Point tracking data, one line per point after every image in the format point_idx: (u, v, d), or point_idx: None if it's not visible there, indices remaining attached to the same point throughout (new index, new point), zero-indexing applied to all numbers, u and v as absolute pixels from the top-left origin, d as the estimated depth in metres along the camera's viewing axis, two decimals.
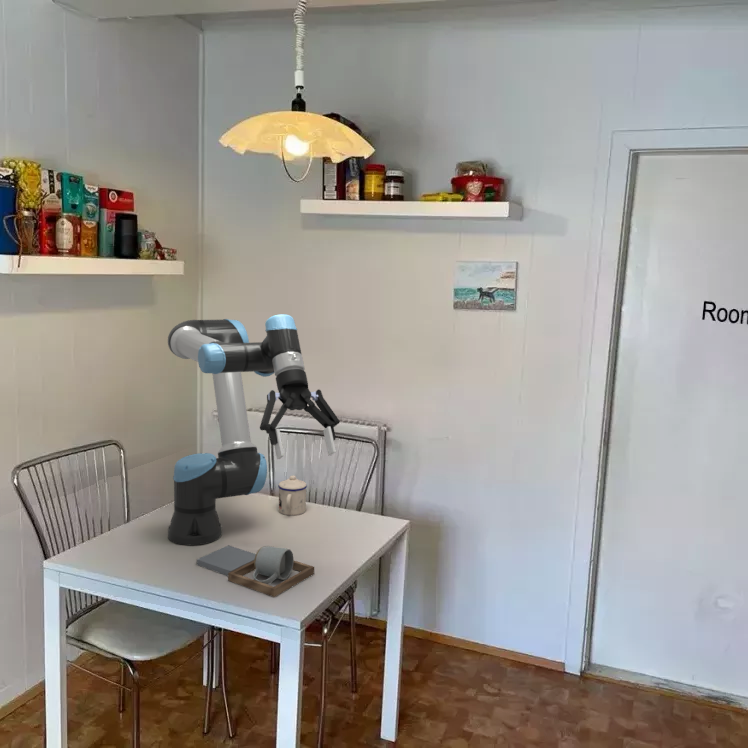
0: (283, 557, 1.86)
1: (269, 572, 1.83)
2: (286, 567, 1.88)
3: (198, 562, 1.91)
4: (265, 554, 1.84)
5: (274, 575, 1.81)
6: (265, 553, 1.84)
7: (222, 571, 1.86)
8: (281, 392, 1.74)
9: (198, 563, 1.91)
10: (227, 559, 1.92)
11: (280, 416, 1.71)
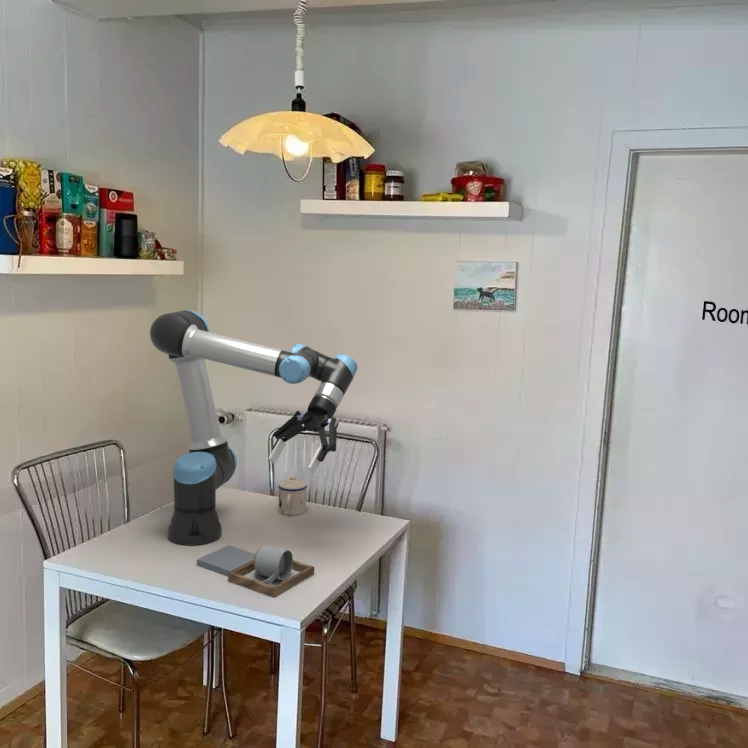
0: (282, 558, 1.85)
1: (268, 573, 1.82)
2: (285, 568, 1.88)
3: (198, 562, 1.91)
4: (264, 554, 1.84)
5: (273, 576, 1.81)
6: (264, 553, 1.84)
7: (222, 571, 1.86)
8: None
9: (198, 563, 1.91)
10: (227, 559, 1.92)
11: None
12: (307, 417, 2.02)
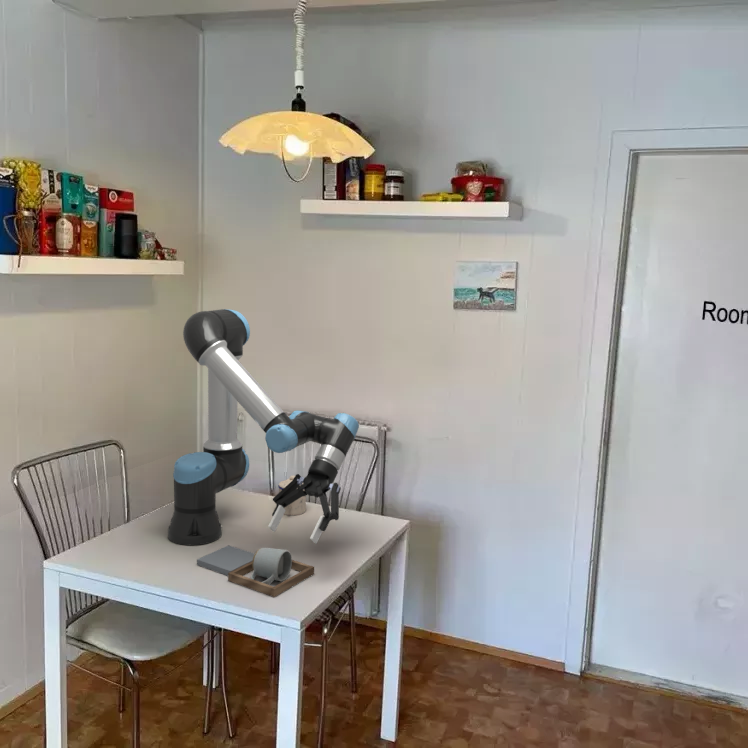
0: (281, 558, 1.85)
1: (267, 574, 1.82)
2: (284, 569, 1.87)
3: (198, 562, 1.91)
4: (263, 555, 1.83)
5: (272, 577, 1.81)
6: (263, 554, 1.83)
7: (222, 571, 1.86)
8: None
9: (198, 563, 1.91)
10: (227, 559, 1.92)
11: None
12: (308, 482, 1.94)
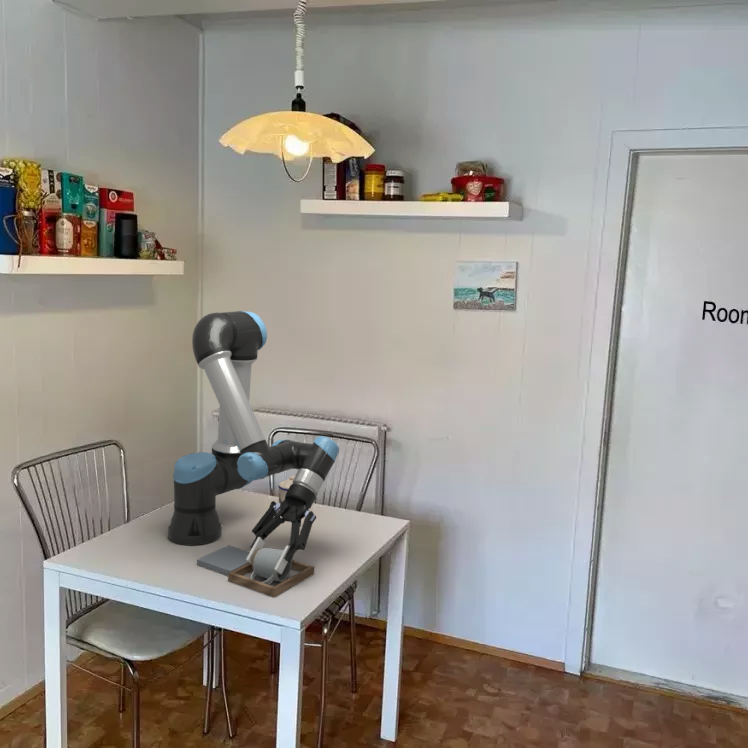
0: None
1: (267, 574, 1.81)
2: (284, 569, 1.87)
3: (198, 562, 1.91)
4: (263, 556, 1.83)
5: (272, 577, 1.80)
6: (263, 555, 1.83)
7: (222, 571, 1.86)
8: None
9: (198, 563, 1.91)
10: (227, 559, 1.92)
11: None
12: (284, 507, 1.89)
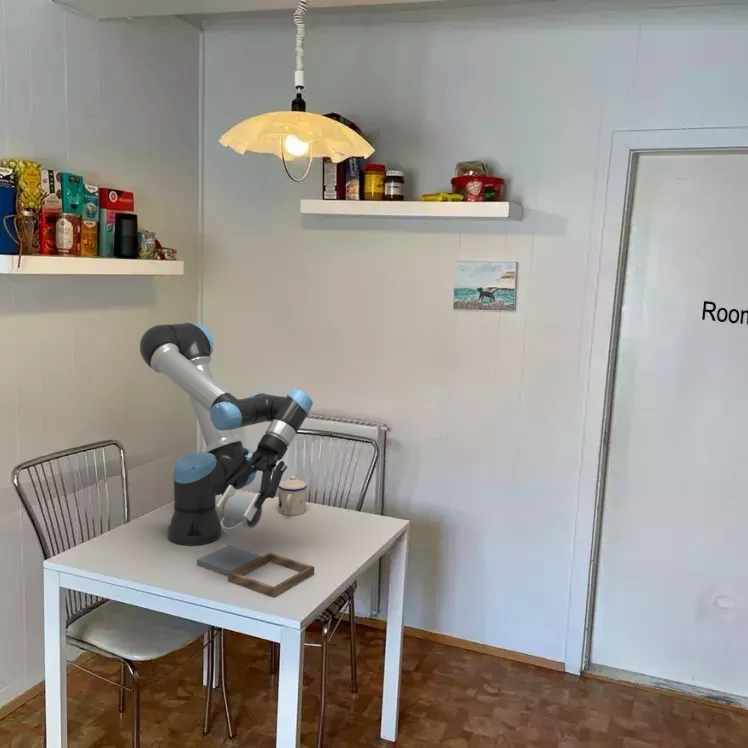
0: None
1: (236, 520, 1.85)
2: (254, 517, 1.90)
3: (198, 562, 1.91)
4: (233, 502, 1.86)
5: (241, 523, 1.84)
6: (233, 501, 1.86)
7: (222, 571, 1.86)
8: None
9: (198, 563, 1.91)
10: (227, 559, 1.92)
11: None
12: (256, 456, 1.92)
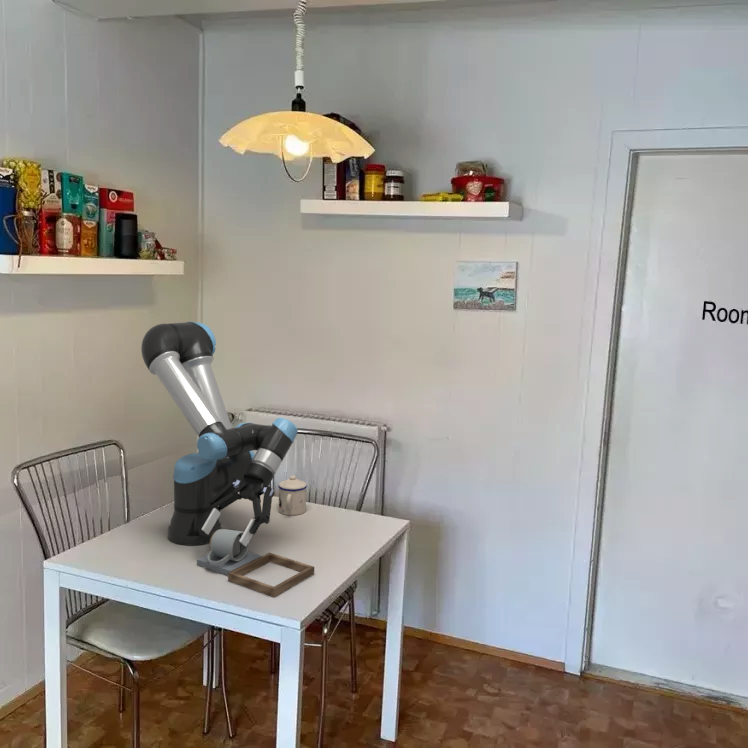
0: (237, 539, 1.92)
1: (223, 554, 1.89)
2: (241, 550, 1.94)
3: (198, 562, 1.91)
4: (220, 536, 1.90)
5: (227, 556, 1.88)
6: (219, 535, 1.90)
7: (222, 571, 1.86)
8: None
9: (198, 563, 1.91)
10: None
11: None
12: (242, 485, 1.96)
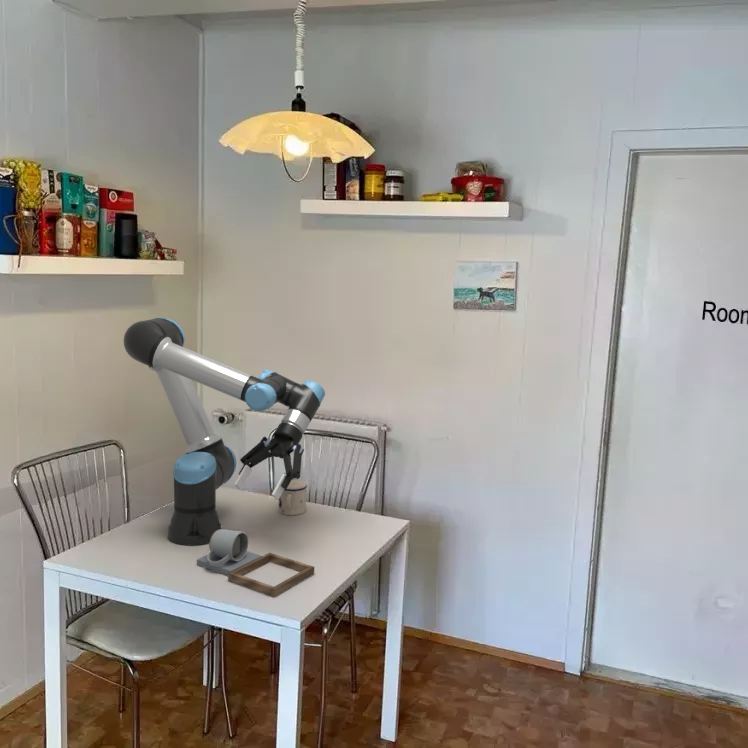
0: (237, 540, 1.92)
1: (223, 554, 1.89)
2: (241, 550, 1.94)
3: (198, 562, 1.91)
4: (219, 536, 1.90)
5: (227, 557, 1.87)
6: (219, 535, 1.90)
7: (222, 571, 1.86)
8: None
9: (198, 563, 1.91)
10: None
11: None
12: (273, 443, 2.05)
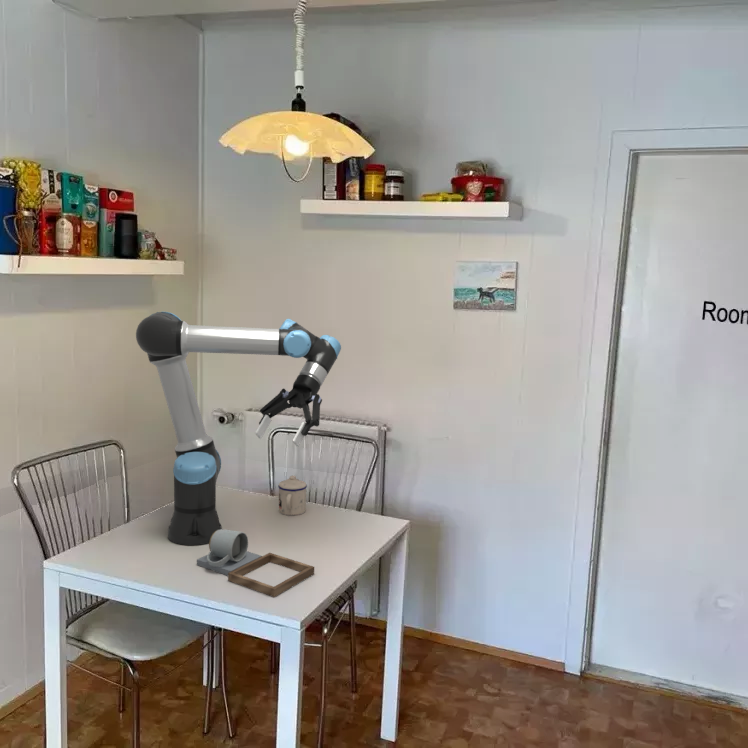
0: (237, 540, 1.91)
1: (222, 554, 1.89)
2: (240, 550, 1.94)
3: (198, 562, 1.91)
4: (219, 536, 1.90)
5: (227, 557, 1.87)
6: (219, 535, 1.90)
7: (222, 571, 1.86)
8: None
9: (198, 563, 1.91)
10: None
11: None
12: (292, 394, 2.12)
